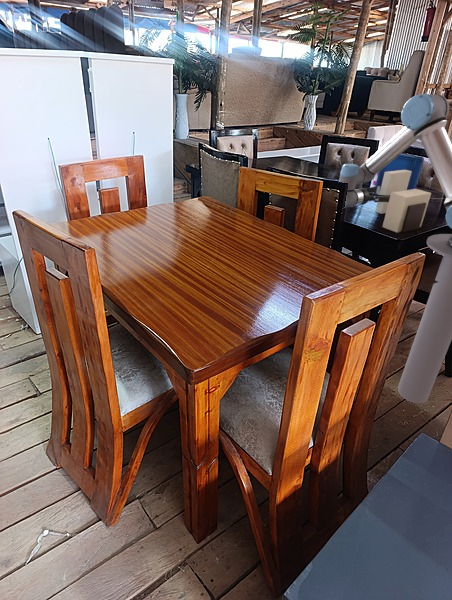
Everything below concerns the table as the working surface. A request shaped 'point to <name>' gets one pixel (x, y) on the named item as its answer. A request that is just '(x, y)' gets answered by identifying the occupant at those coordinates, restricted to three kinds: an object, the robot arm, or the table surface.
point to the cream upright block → (406, 210)
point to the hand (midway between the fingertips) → (386, 192)
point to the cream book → (392, 186)
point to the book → (402, 163)
